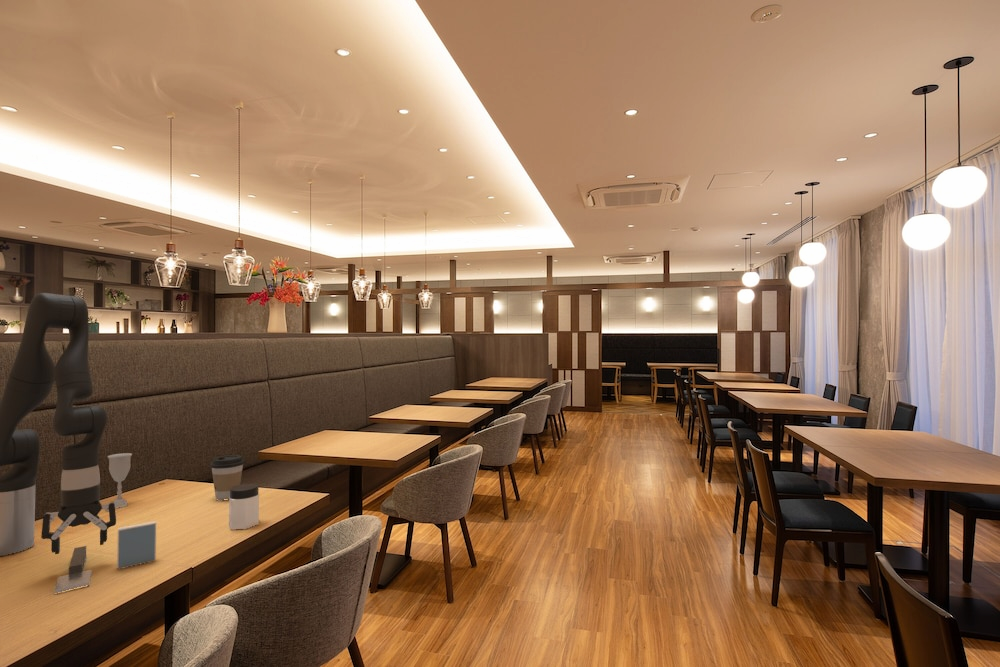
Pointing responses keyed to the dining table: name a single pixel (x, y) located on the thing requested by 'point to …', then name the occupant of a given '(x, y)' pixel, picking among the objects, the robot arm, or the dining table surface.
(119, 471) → the chalice
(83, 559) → the turner
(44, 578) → the dining table surface
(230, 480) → the coffee cup
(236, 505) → the jar
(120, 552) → the tile
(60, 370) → the robot arm
